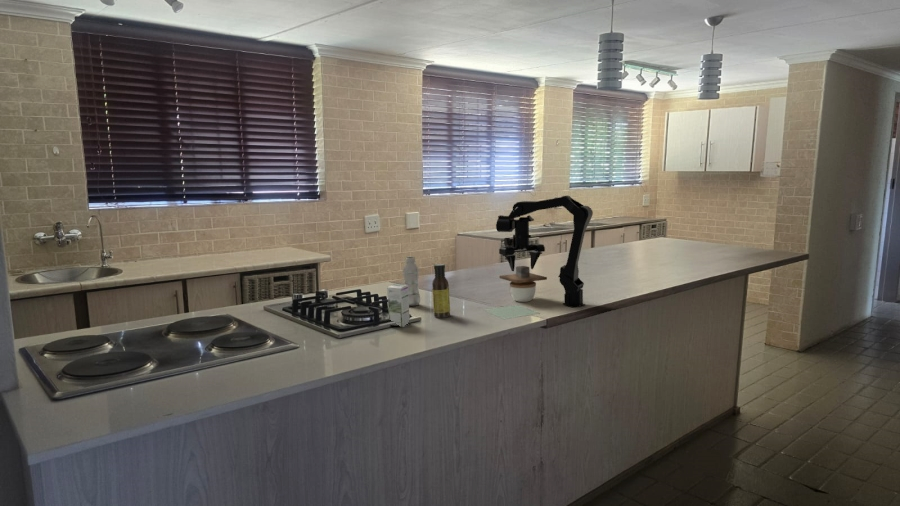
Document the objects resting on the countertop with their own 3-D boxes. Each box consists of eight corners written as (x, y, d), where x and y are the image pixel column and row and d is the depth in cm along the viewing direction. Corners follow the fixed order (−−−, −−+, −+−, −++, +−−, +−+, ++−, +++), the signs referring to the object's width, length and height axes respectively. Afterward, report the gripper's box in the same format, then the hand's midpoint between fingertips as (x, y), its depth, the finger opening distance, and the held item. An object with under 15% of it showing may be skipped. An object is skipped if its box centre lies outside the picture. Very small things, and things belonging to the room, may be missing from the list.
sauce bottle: (453, 316, 217) (451, 264, 214) (439, 319, 214) (437, 266, 211) (444, 313, 222) (442, 262, 220) (430, 316, 219) (428, 264, 216)
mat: (518, 305, 231) (518, 304, 231) (540, 314, 216) (540, 313, 216) (482, 311, 224) (482, 310, 224) (503, 320, 210) (503, 319, 210)
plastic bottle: (418, 307, 234) (416, 258, 231) (402, 307, 235) (400, 258, 232) (422, 303, 240) (420, 256, 237) (406, 303, 241) (404, 256, 239)
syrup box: (410, 323, 209) (408, 284, 207) (402, 327, 204) (400, 287, 202) (396, 322, 212) (395, 283, 210) (388, 326, 207) (386, 286, 204)
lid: (528, 274, 246) (527, 263, 246) (546, 279, 234) (546, 267, 233) (499, 278, 241) (499, 266, 240) (517, 283, 228) (516, 270, 227)
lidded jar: (535, 298, 243) (535, 276, 242) (536, 304, 233) (536, 281, 231) (510, 298, 244) (509, 276, 243) (510, 304, 234) (509, 281, 232)
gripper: (530, 229, 246) (531, 265, 248) (492, 232, 238) (493, 269, 240) (545, 231, 236) (545, 268, 238) (505, 234, 228) (506, 273, 230)
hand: (522, 270), depth 237 cm, fingers open, 9 cm apart
